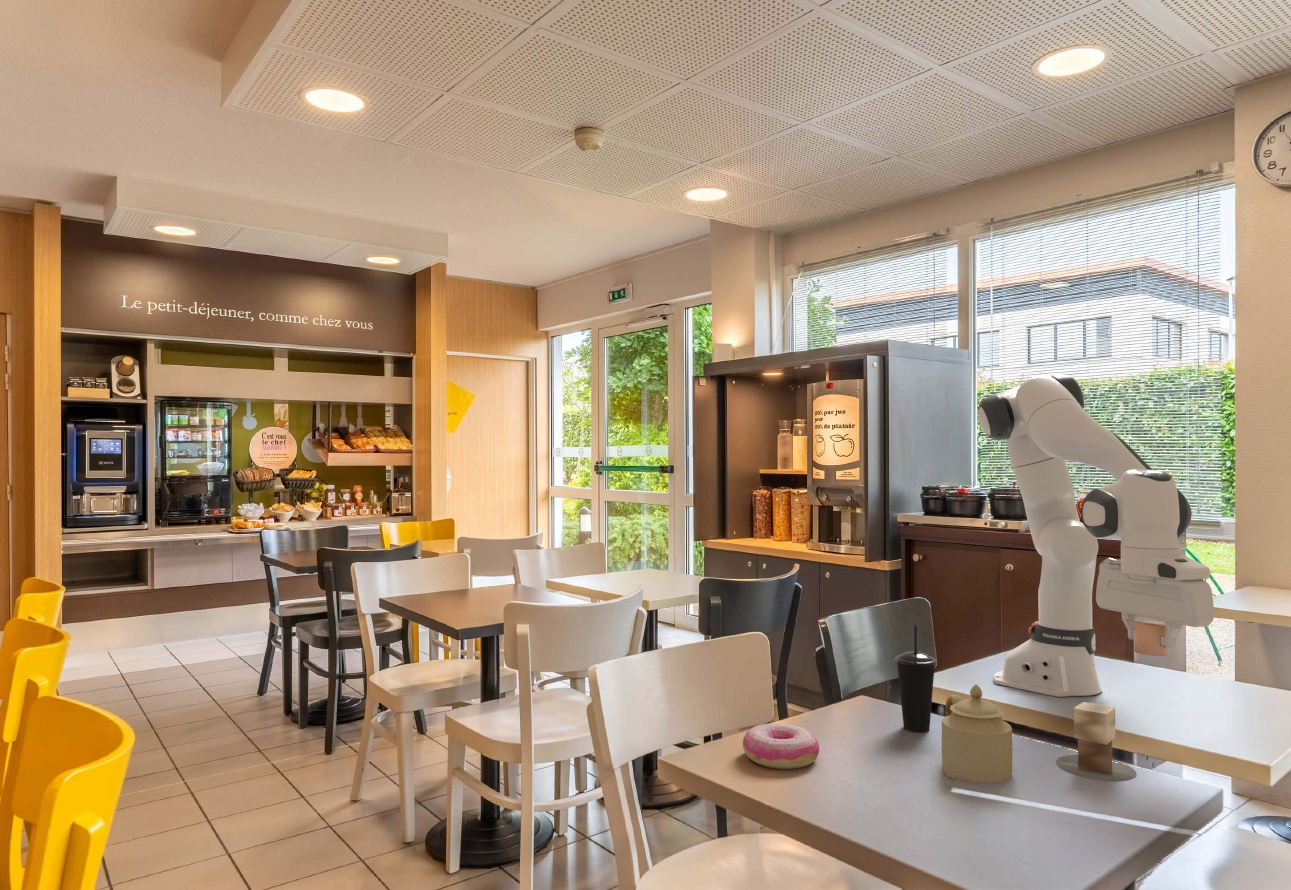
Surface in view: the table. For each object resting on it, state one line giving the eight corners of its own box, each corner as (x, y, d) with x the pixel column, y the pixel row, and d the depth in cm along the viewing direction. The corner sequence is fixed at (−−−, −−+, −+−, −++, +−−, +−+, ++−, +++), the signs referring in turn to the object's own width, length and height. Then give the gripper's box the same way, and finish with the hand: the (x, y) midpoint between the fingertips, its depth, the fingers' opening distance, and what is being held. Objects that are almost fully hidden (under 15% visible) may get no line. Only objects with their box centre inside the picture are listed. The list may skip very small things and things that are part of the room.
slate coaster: (1047, 772, 139) (1047, 769, 139) (1065, 753, 148) (1065, 749, 148) (1129, 790, 132) (1129, 786, 132) (1142, 768, 141) (1142, 765, 141)
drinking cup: (896, 732, 160) (894, 628, 160) (896, 720, 167) (895, 621, 168) (937, 736, 158) (936, 631, 158) (936, 723, 165) (935, 623, 165)
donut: (777, 779, 138) (777, 749, 138) (726, 756, 149) (726, 728, 149) (835, 763, 145) (834, 734, 145) (782, 741, 156) (782, 714, 156)
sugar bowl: (910, 762, 144) (909, 676, 145) (952, 751, 150) (951, 667, 150) (983, 792, 132) (982, 697, 132) (1027, 778, 137) (1026, 687, 137)
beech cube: (1074, 737, 140) (1073, 708, 140) (1083, 730, 144) (1083, 701, 144) (1106, 744, 137) (1106, 714, 137) (1115, 737, 140) (1115, 707, 140)
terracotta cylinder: (1132, 653, 143) (1131, 624, 143) (1136, 647, 147) (1136, 619, 147) (1166, 657, 140) (1166, 627, 140) (1169, 651, 144) (1169, 622, 144)
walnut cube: (1078, 769, 139) (1077, 739, 139) (1079, 759, 143) (1078, 730, 144) (1112, 774, 137) (1111, 744, 137) (1112, 765, 141) (1111, 735, 141)
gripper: (1086, 557, 152) (1087, 632, 152) (1190, 571, 133) (1192, 658, 133) (1113, 555, 154) (1114, 630, 154) (1219, 569, 135) (1221, 654, 135)
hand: (1151, 643), depth 143 cm, fingers closed on terracotta cylinder, 5 cm apart
